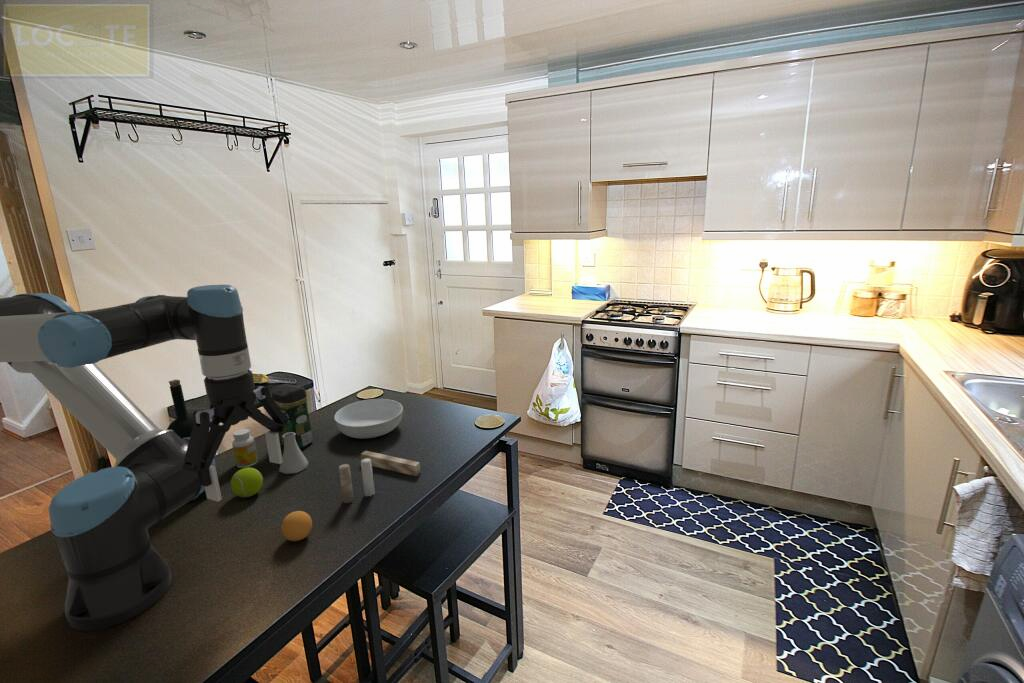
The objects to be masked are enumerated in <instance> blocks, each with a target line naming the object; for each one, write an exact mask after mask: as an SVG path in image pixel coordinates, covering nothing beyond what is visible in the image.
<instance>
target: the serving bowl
mask: <svg viewBox="0 0 1024 683" xmlns="http://www.w3.org/2000/svg"><path fill="white" fill-rule="evenodd" d="M403 415H404V406H403V405H402V404H401V402H399V401H396V400H392V399H390V398H389V399H388V398H371V399H363V400H359V401H355V402H352V403H349V404H347V405H344V406H343V407H341V408H340V409H338V410H337V411H336V413H335V414H334V416H333V417H334V422H335V425H336V427H337V428H338V430H339V431H340V432H341V433H342V434H343V435H345V436H347V437H350V438H355V439H372V438H377V437H381V436H384V435H387V434H389V433H390V432H392V431H394V430H395V429H396V428H397V427H398V426H399V424H400V422H401V421H402V419H403Z"/></svg>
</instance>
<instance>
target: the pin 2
mask: <svg viewBox="0 0 1024 683" xmlns="http://www.w3.org/2000/svg"><path fill="white" fill-rule="evenodd" d="M360 466H361V467H360V468H361V474H362V475H361V476H362V484H363V494H364V496H365V497H367V496H370V497H373V496H374V495H375V494H376V492H375V483H374V476H373V475H374V474H373V466H372V465H371V459H363V460H362V459H361V461H360ZM372 495H373V496H372Z"/></svg>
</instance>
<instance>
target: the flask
mask: <svg viewBox="0 0 1024 683" xmlns="http://www.w3.org/2000/svg"><path fill="white" fill-rule="evenodd" d="M295 435H296V433H294V432H288V433H286V434H284V435H283V436H282V438H283V439H284V446H283V454H282V460H283V463H281V464H279V470H278V472H279V473H282V474H285V475H288V474H298V473H299V472H302V471H303V470H305V469H307V468H308V466H309V464H310V463H309V461H308V459H307V458H306V456H305V455H304V453H303V451H301V450H302V449H301V448H299V447H298V445H297V443H296V440H295Z"/></svg>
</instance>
